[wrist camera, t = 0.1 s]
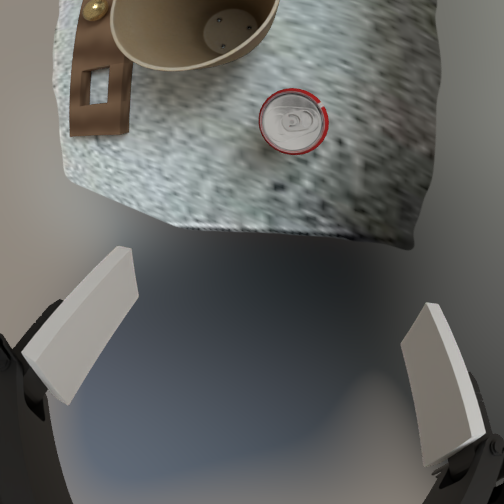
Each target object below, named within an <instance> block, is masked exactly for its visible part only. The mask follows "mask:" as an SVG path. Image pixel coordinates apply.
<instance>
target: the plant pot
mask: <svg viewBox="0 0 504 504" xmlns="http://www.w3.org/2000/svg"><path fill="white" fill-rule="evenodd" d="M279 1H280V0H113V3H112V7H111V13H110V27H111V33H112V36H113V39H114V41H115V43H116V45H117V47H118V48H119V50H120V51H121V52H122V53H123V54H124V55H125V56H126V57H127V58H129V59H130V60H131V61H133V62H134V63H136V64H138V65H140V66H143V67H146V68H149V69H154V70H159V71H185V70H195V69H202V68H209V67H214V66H218V65H222V64H226V63H229V62H231V61H234V60H236V59H238V58H241V57H243V56H244V55H246V54H248V53H249V52H250V51H252V50H253V49H254V48H255V47H256V46H257V45H258V44H259V43H260V42H261V41H262V40H263V39H264V37H265V36H266V34H267V33H268V31H269V29H270V28H271V25H272V23H273V21H274V18H275V15H276V12H277V8H278V5H279ZM218 19H221V21H220V22H218V21H217V20H218ZM247 27H251V29H248V28H247ZM223 45H225V48H222V46H223Z"/></svg>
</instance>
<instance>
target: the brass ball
mask: <svg viewBox="0 0 504 504" xmlns="http://www.w3.org/2000/svg"><path fill="white" fill-rule="evenodd" d="M108 8H109V5H108V2H107V1H106V0H91V1H89V2H88V3H87V4H86V5H85V7H84V9H83V17H84V18H85V19H86V20H88V21H96V20H99V19H101V18H102V17H103V16H104V15H105V14H106V13H107V11H108Z"/></svg>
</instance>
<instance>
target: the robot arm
mask: <svg viewBox="0 0 504 504" xmlns="http://www.w3.org/2000/svg"><path fill="white" fill-rule="evenodd" d="M138 297H139V295H138V289H137V283H136V277H135V271H134V264H133V257H132V249H131V248H126V247H121V246H117V247H116V248H114V249H113V250H112V251H111V252H110V253H109V254H108V255H107V256H106V257H105V258H104V259H103V260H102V261H101V262H100V263H99V264H98V265H97V266H96V267H95V268H94V269H93V270H92V271H91V272H90V273H89V274H88V275H87V276H86V278H84V280H83V281H82V282H81V283H80V284H79V285H78V286H77V287H76V288H75V289H74V290H73V291H72V292H71V293H70V294H69V296H68V297H67V298H66V299H65V300H64V301H63V300H61V299H59V300H58V301H56V302H54V303H53V304H51V305H50V306H49V307H48V308H47V309H46V310H45V311H44V312H43V313H42V316H40V317H39V318H38V319H37V320H36V323H34V324H33V325H32V326H31V328H30V329H29V330H28V331H27V332H26V334H25V335H24V336H23V337H22V338H21V340H20V341H19V342H18V343H17V345H16V346H15V347H14V348H13V349H12V348H11V347H10V346H9V344H8V342H7V341H6V339H5V338H4V336H3V335H2V334H0V504H73V503H72V500H71V498H70V495H69V492H68V489H67V486H66V483H65V480H64V476H63V473H62V469H61V466H60V462H59V458H58V454H57V450H56V446H55V441H54V436H53V431H52V426H51V420H50V413H49V406H48V399H47V396H46V394H45V393H46V391H47V390H49V391H50V392H51V394H52V395H53V396H54V397H55V398H57V399H58V400H60V401H62V402H63V403H65V404H67V405H69V404H70V402H71V401H72V399H73V397H74V396H75V394H76V392H77V391H78V389H79V387H80V385H81V384H82V382H83V381H84V379H85V377H86V376H87V374H88V372H89V370H90V369H91V367H92V366H93V364H94V363H95V361H96V360H97V358H98V356H99V355H100V353H101V352H102V350H103V349H104V347H105V345H106V344H107V342H108V341H109V339H110V338H111V336H112V335H113V333H114V332H115V330H116V329H117V327H118V326H119V324H120V323H121V321H122V320H123V319H124V317H125V316H126V314H127V313H128V311H129V310H130V308H131V307H132V306H133V304H134V303H135V301H136V300H137V298H138ZM401 348H402V352H403V356H404V360H405V364H406V368H407V371H408V376H409V380H410V385H411V389H412V394H413V398H414V404H415V409H416V415H417V421H418V427H419V434H420V440H421V448H422V457H423V467H427V466H431V465H436V464H439V463H441V462H443V461H444V460H446V459H448V462H449V463H447V464H445V465H444V466H442V467H440V468H438V469H436V470H435V471H434V472H433V473H432V475H435V474H437V473H439V472H441V473H440V474H438V475H437V476H436V478H438V479H437V481H436V482H435V484H434V486H433V487H432V489H431V491H430V493H429V494H428V496H427V497H426V499H425V501H424V502H423V504H504V483H503V484H501V485H499V486H497V487H496V482H497V481H498V480H500V479H502V478H504V440H503V438H502V437H501V436H500V435H498V434H492V431H491V427H490V423H489V419H488V416H487V412H486V409H485V405H484V402H482V400H483V399H482V396H481V394H480V390H479V387H478V384H477V381H476V380H475V378H474V377H473V375H472V374H471V373H470V372H467V369H466V366H465V364H464V361H463V358H462V356H461V353H460V351H459V348H458V346H457V344H456V341H455V339H454V337H453V334H452V332H451V330H450V327H449V325H448V323H447V321H446V319H445V317H444V315H443V313H442V310H441V309H440V307H439V305H438V304H433V303H426V304H425V305H424V307H423V309H422V310H421V312H420V314H419V316H418V317H417V319H416V320H415V322H414V324H413V325H412V327H411V329H410V330H409V332H408V333H407V335H406V336H405V338H404V340H403V341H402V343H401Z"/></svg>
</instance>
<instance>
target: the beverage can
mask: <svg viewBox="0 0 504 504" xmlns="http://www.w3.org/2000/svg"><path fill="white" fill-rule="evenodd" d="M328 125H329V121H328V115H327V112H326V109H325V107H324V106H323V104H322V103H321V101H320V100H319V99H318V98H317V97H315V96H314V95H313V94H311V93H309V92H307V91H305V90H301V89H295V88H289V89H283V90H280V91H277V92H276V93H274V94H272V95H271V96H270V97H269V98H267V100H266V101H265V102H264V104H263V105H262V107H261V109H260V113H259V128H260V131H261V134H262V136H263V137H264V139H265V141H266V142H267V143H268V144H269V145H270V146H271V147H273V148H274V149H275V150H277V151H279V152H281V153H285V154H289V155H301V154H305V153H308V152H310V151H312V150H314V149H315V148H317V147H318V146H319V145H320V144H321V143H322V142H323V140H324V138H325V136H326V134H327V131H328Z"/></svg>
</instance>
